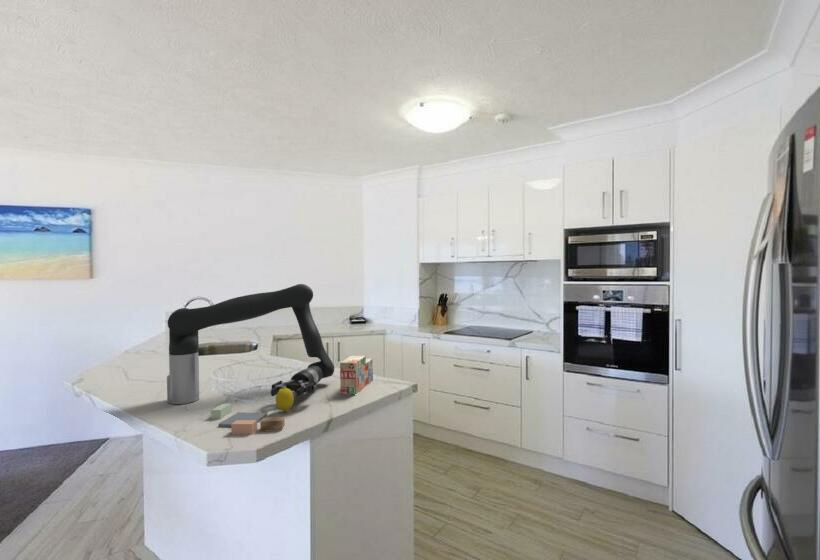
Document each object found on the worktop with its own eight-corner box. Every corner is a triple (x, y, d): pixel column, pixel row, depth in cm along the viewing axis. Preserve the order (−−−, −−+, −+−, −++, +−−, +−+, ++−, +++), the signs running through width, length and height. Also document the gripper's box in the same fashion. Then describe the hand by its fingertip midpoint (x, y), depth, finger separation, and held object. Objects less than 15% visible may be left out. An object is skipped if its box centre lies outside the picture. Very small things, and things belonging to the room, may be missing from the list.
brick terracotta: (231, 434, 110) (231, 424, 110) (236, 430, 113) (236, 420, 113) (252, 434, 109) (252, 424, 109) (257, 430, 112) (256, 420, 112)
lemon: (297, 410, 128) (297, 386, 128) (284, 415, 123) (283, 390, 123) (285, 408, 131) (285, 384, 131) (272, 413, 126) (271, 388, 126)
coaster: (218, 426, 115) (218, 423, 115) (238, 414, 125) (237, 412, 125) (250, 427, 114) (250, 425, 114) (267, 415, 124) (267, 413, 124)
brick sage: (220, 419, 122) (220, 409, 122) (211, 419, 122) (211, 409, 122) (231, 412, 128) (231, 403, 128) (222, 412, 128) (222, 403, 128)
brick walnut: (260, 432, 111) (260, 421, 111) (263, 428, 114) (263, 417, 114) (282, 430, 112) (282, 420, 112) (284, 426, 115) (284, 416, 115)
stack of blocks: (359, 379, 166) (358, 351, 166) (373, 380, 165) (372, 351, 165) (340, 394, 145) (339, 361, 145) (356, 395, 144) (355, 362, 144)
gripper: (286, 369, 144) (264, 381, 128) (323, 370, 142) (305, 382, 126) (286, 390, 144) (264, 404, 128) (323, 391, 142) (305, 405, 126)
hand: (284, 393), depth 127 cm, fingers open, 8 cm apart
